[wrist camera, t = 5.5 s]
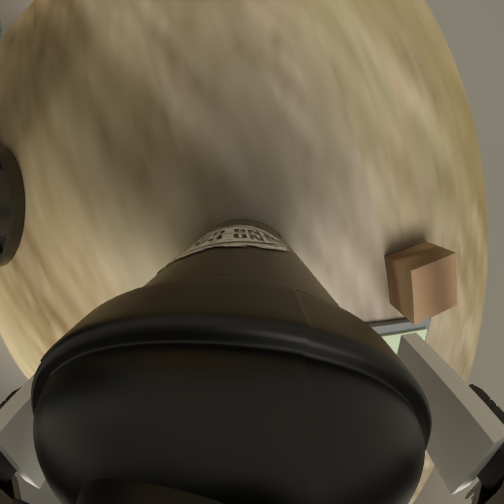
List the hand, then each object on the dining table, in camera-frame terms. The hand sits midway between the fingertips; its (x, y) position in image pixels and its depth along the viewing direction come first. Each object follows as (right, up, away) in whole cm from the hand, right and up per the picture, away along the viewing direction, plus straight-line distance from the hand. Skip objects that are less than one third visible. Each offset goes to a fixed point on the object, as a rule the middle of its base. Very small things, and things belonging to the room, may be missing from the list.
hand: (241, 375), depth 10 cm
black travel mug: (0, +3, +14) cm, 14 cm away
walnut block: (+16, +3, +14) cm, 21 cm away
